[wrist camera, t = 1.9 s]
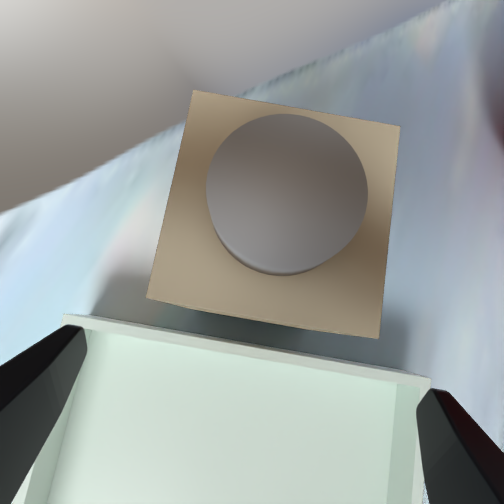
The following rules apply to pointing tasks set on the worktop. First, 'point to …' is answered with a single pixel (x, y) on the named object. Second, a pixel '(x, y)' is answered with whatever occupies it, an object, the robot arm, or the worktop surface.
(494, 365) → the worktop surface
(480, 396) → the worktop surface
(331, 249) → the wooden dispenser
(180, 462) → the tray
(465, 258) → the worktop surface
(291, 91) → the worktop surface
